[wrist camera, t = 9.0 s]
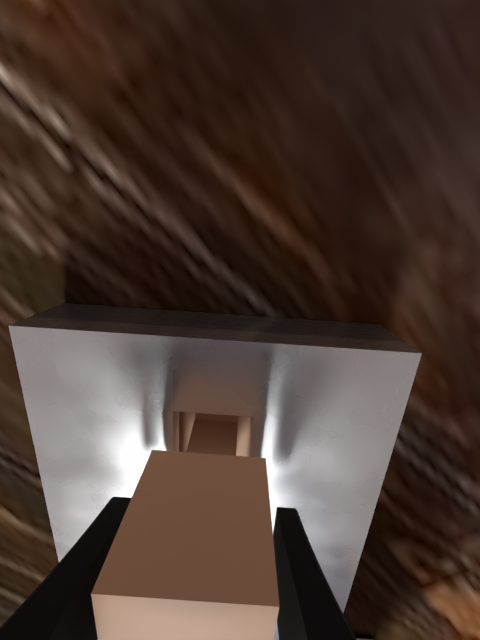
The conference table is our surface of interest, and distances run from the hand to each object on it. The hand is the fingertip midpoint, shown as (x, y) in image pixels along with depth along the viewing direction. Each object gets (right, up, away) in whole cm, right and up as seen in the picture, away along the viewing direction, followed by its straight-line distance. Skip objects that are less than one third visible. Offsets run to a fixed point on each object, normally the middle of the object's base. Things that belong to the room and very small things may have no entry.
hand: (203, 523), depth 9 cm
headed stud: (0, +2, +5) cm, 5 cm away
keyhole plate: (0, -2, +6) cm, 6 cm away
